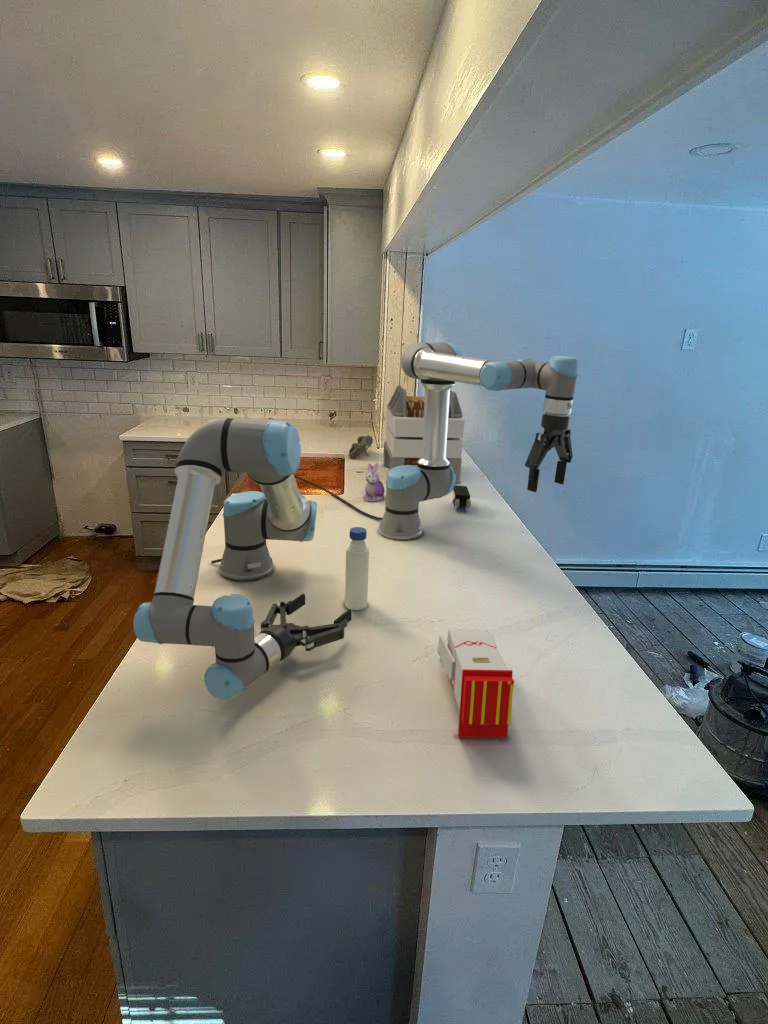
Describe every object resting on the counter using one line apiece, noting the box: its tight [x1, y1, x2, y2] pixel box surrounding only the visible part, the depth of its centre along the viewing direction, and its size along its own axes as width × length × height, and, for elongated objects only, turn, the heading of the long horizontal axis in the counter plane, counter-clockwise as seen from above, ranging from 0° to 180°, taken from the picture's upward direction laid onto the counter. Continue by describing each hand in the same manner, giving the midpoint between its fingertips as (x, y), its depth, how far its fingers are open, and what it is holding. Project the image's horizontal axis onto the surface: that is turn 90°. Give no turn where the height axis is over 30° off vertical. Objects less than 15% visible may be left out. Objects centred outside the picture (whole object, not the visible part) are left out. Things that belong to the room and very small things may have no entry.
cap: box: [349, 526, 367, 541], centre depth 144 cm, size 4×4×2 cm
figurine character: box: [451, 484, 472, 513], centre depth 228 cm, size 7×8×15 cm
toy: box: [437, 628, 515, 738], centre depth 117 cm, size 12×13×30 cm
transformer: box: [383, 384, 465, 484], centre depth 268 cm, size 34×33×41 cm
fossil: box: [348, 435, 374, 460], centre depth 302 cm, size 22×10×15 cm
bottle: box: [344, 539, 370, 611], centre depth 148 cm, size 6×6×21 cm
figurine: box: [364, 462, 385, 502], centre depth 233 cm, size 9×10×15 cm
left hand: (326, 606), depth 137 cm, fingers open, 13 cm apart
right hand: (545, 487), depth 165 cm, fingers open, 13 cm apart
